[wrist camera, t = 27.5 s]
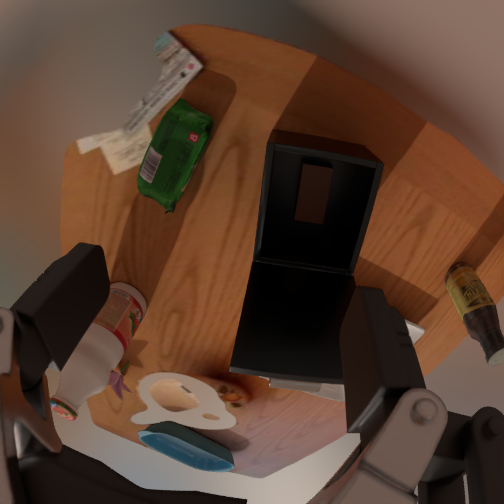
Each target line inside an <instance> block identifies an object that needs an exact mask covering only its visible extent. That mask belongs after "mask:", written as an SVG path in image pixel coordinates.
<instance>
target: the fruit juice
mask: <svg viewBox="0 0 504 504" xmlns="http://www.w3.org/2000/svg"><path fill="white" fill-rule="evenodd" d="M146 308H147V306H146V301H145V299H144V297H143V296H142V294H141V293H140V292H139V291H138V290H137V289H136V288H134V287H133V286H131V285H129V284H126V283H122V282H117V283H113V284H111V285H110V294H109V297H108V300H107V302H106V303H105V305H104V306H103V308H102V309H101V310H100V312H99V313H98V315H97V316H96V318H95V319H94V321H93V322H92V324H91V325H90V327H89V328H88V330H87V331H86V333H85V334H84V336H83V337H82V339H81V340H80V342H79V344H78V345H77V347H76V348H75V350H74V351H73V353H72V355H71V356H70V358H69V359H68V361H67V363H66V364H65V366H64V368H63V369H62V371H61V372H60V381H59V386H58V390H57V392H56V394H55V395H53V396H52V397H51V398H50V404H51V408H52V409H53V410H54V411H55V412H56V413H57V414H59V415H61V416H62V417H64V418H66V419H68V420H71V421H74V420H75V419H76V418H77V416H78V409H79V407H80V406H81V404H82V403H83V402H84V401H85V400H86V399H88V398H89V397H90V396H92V395H96V394H99V393H101V392H102V391H103V390H104V389H105V388H106V386H107V385H108V382H109V379H110V373H111V371H112V370H113V369H114V368H116V366H117V365H118V364H119V362H120V361H121V359H122V357H123V355H124V353H125V351H126V349H127V347H128V345H129V343H130V341H131V340H132V338H133V336H134V334H135V332H136V330H137V328H138V327H139V325H140V323H141V321H142V319H143V317H144V315H145V313H146Z"/></svg>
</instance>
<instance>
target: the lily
mask: <svg viewBox="0 0 504 504" xmlns="http://www.w3.org/2000/svg"><path fill="white" fill-rule="evenodd" d="M128 363H129V362H127V364H128ZM127 364H126V365H125V367H126V366H127ZM125 367H124V368H123V369H122V371H123V370H124V369H125ZM122 371H121V372H122ZM121 372H119V373H117V372H114V371H113V370H112V371H111V373H110V379H109V382H108V385H112V388H113V390H114V392H115V393H116V395H117V396H118V397H119V398H120V399H121V400H122V401H123V394H122V388H123V389H124V390H126V391H128V392H131V393H133V392H132V391H131V390H130V389H129V388H128V387H127V386H126V385H125V384H124V383H123V380H124V376H123V375H120V374H121Z"/></svg>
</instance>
